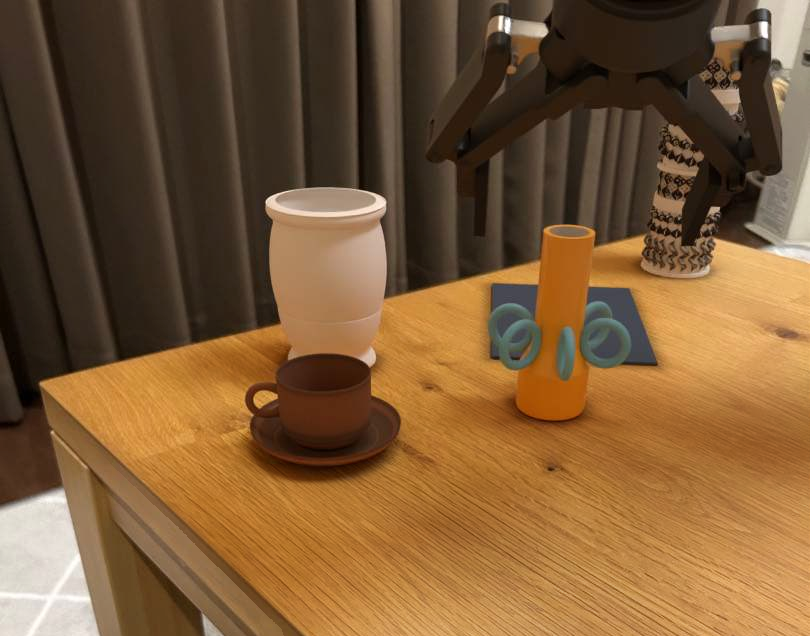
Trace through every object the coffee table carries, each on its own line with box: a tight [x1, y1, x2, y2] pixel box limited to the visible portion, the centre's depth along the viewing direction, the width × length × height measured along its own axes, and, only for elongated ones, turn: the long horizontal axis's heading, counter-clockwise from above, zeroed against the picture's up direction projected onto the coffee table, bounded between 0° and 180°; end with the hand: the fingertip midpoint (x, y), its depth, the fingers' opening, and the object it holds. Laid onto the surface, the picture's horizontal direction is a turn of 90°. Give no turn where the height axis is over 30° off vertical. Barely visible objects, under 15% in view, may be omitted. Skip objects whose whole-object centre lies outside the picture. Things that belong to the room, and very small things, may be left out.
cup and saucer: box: [244, 353, 402, 467], centre depth 68 cm, size 12×12×6 cm
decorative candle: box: [640, 58, 745, 279], centre depth 102 cm, size 9×9×25 cm
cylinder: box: [487, 224, 631, 421], centre depth 72 cm, size 12×10×15 cm
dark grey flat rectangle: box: [490, 282, 659, 367], centre depth 93 cm, size 22×16×1 cm
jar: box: [265, 187, 388, 368], centre depth 79 cm, size 11×10×15 cm
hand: (582, 223), depth 58 cm, fingers open, 13 cm apart
